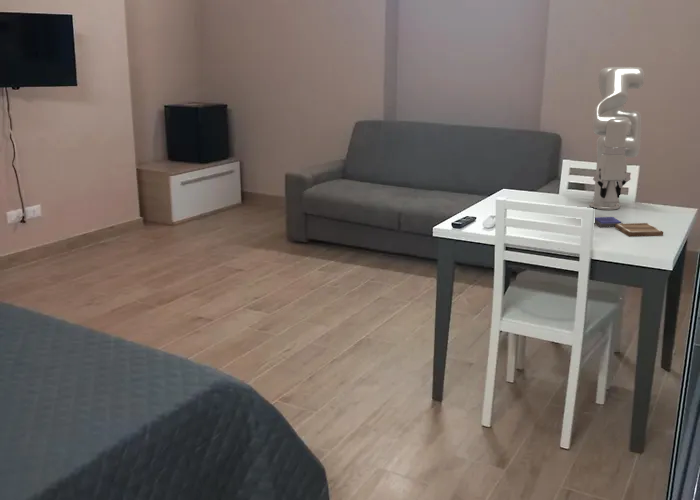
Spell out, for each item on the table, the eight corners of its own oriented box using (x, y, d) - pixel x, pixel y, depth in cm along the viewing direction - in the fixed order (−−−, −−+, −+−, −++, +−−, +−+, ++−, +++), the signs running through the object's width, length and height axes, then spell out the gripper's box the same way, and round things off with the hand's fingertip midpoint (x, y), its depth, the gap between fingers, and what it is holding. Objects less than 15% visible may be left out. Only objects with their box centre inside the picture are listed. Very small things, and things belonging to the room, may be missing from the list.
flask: (620, 204, 278) (623, 178, 275) (601, 203, 279) (603, 178, 276) (617, 200, 285) (620, 175, 282) (598, 199, 286) (601, 174, 283)
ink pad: (591, 221, 289) (592, 217, 288) (613, 221, 289) (614, 216, 289) (600, 227, 280) (601, 222, 280) (623, 227, 281) (623, 222, 280)
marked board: (614, 227, 280) (615, 223, 280) (647, 226, 281) (647, 222, 280) (629, 236, 268) (629, 232, 267) (662, 235, 268) (663, 231, 268)
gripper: (631, 149, 280) (626, 195, 285) (589, 150, 279) (585, 195, 285) (640, 152, 273) (635, 199, 278) (596, 153, 272) (592, 199, 277)
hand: (609, 196), depth 281 cm, fingers closed on flask, 4 cm apart
